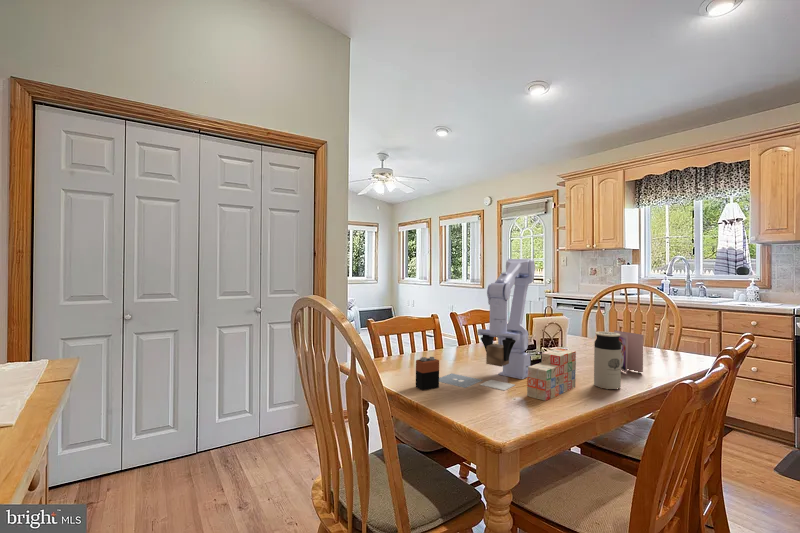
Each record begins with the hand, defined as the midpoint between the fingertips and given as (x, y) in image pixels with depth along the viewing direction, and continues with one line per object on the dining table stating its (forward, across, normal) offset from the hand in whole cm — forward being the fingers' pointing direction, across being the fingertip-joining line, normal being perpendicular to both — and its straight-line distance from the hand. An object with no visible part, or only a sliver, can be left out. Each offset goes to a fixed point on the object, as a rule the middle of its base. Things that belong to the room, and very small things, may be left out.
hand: (497, 359), depth 135 cm
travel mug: (+9, +28, +24) cm, 38 cm away
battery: (+9, -16, -18) cm, 26 cm away
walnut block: (+2, 0, 0) cm, 2 cm away
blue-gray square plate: (+9, -13, -4) cm, 16 cm away
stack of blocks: (+9, +16, +6) cm, 20 cm away
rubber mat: (+9, 0, 0) cm, 9 cm away
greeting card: (+9, +29, +51) cm, 59 cm away
